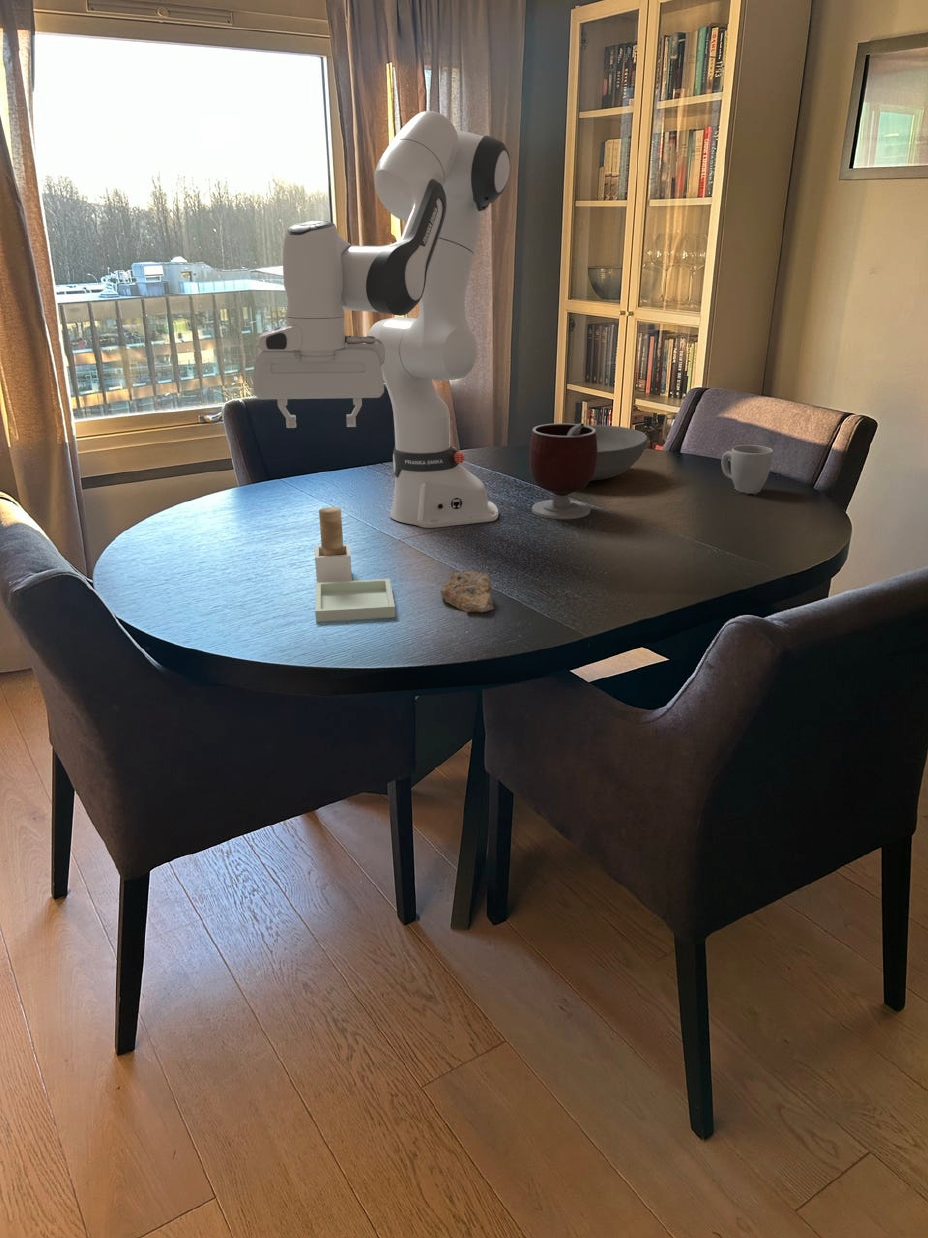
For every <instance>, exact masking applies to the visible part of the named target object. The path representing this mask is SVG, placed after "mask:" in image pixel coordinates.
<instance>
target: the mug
mask: <svg viewBox="0 0 928 1238" xmlns="http://www.w3.org/2000/svg"><path fill="white" fill-rule="evenodd" d="M773 458H774V450H773V449H772V448H771V447H768V446H764V445H757V444H741V445H740V444H739V445H735V446H733V447H732V448H731V450H727V451H725V452H724V453H723V454H722V456H721V464H720V465H721V470H722V472H723V474H724V477H726V478H728V479H730V480H731V481H732V483H733V485H734V490H735V489H736V490H738V491H740V492H746V493H756V492H760V493H761V491H762V488H763V487H764V485H765V483H766V482H767V479H768V477H769V473H770V470H771V468H772V463H773ZM729 459H730V467H729ZM729 468H730V469H729Z"/></svg>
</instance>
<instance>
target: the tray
mask: <svg viewBox="0 0 928 1238" xmlns="http://www.w3.org/2000/svg"><path fill="white" fill-rule="evenodd" d="M391 584H392V583H391V578H376V579H361V580H360V579H359V580H352V581H339V582H321V583H317V582H315V597H314V598H315V604H314V605H315V606H314V607H315V609H314V610H315V622H316V623H320V622H333V621H335V622H336V621H350V620H351V621H353V620H367V619H383V618H384V619H386V618H387V619H388V618H396V604H395V601H394V595H393V590H392V585H391Z"/></svg>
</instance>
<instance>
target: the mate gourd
mask: <svg viewBox="0 0 928 1238" xmlns="http://www.w3.org/2000/svg"><path fill="white" fill-rule="evenodd" d="M586 425H587V424H584V423H583V422H581V423H566V422H565V423H564V422H563V423H562V422H561V423H546V424H540V425H537V426H534V427H533V428H532V433H531V436H530V441H529V442H530V444H529V453H528V454H529V456H528V458H529V459H528V460H529V461H528V462H529V467H530V473H531V476H532V478H533V481H534V482H535V483H536V485H537V486H538V487H539V488H540V489H542V490H545V491H547V492H550V493H552V494H554V495H555V496H554V497H553V499H547V500H542V501H539V502H538V501H537V502H536V503H534V504H532V507H531V512H532V513H533V514H534V515H535V516H539V517H541V518H545V519H551V520H552V519H553V520H573V519H579V518H584V517H587V516H588V515H589V514H590V513H591V507H590V506H589V505H588V504H586V503H584V502H581V501H577V500H571V499H570V498H569V495H571V494H573V493H575V492H578V491H581V490H584V489H585V488H586V487H587V486H588V485H589V483H590V482H591V481H592V480H591V479H592V478H593V475H594V472H595V467H596V462H597V438H596V433H595V432H596V430H595V429H594V428H592V427H590V426H586Z"/></svg>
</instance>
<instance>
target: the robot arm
mask: <svg viewBox="0 0 928 1238" xmlns="http://www.w3.org/2000/svg"><path fill="white" fill-rule="evenodd" d="M508 150H509V149H508V148H507V146H506V144H505V143H504V142H502V141H501V140H499V139H497V138H495V137H493V136H490V135H484V136H482V135H480V134H476V133H473V132H468V131H463V130H460V129H456V127H455V125H454V124H453V123H452V121H451V120H450V119H449V118H448V117H447V116H445V115H444V114H443V113H440V112H437V111H433V110H425V111H422V112H421V111H420V112H418V113H417V114H416V115H414V116H413V117H412V118H410V119H409V120H408V121H407V123H406V124H404V126H402V127H401V128H400V130H398V132H397V133H396V134H395V136H394V137H393V139H392V140H391V141H390V143H389V145H388V146H387V147H386V149H385V151H384V152H383V153H382V155H381V156H380V158H379V161H378V163H377V164H376V168H375V171H374V176H373V177H374V178H373V182H374V187H375V192H376V195H377V197H378V199H379V200H380V202H381V204H382V205H383V207H384V208H385V209H386V210H387V211H388V212H389V213H390V214H391V215H392V216H394V218H397V219H398V220H401V221H402V222H403V221H404V222H406V223H405V226H404V228H403V231H402V234H401V237H400V239H399V240H397V241H395V242H393V243H390V244H385V245H353V244H351V243H350V242H348V241H346V240H345V239H344V238H342V237H341V236H340V235H339V232H338V229H337V226H336V225H337V224H335V223H334V222H331V221H329V220H311V221H304V222H303V221H302V222H298V223H295V224H293V225H291V226H290V227H289V228H287V230H286V231H285V235H284V240H283V248H282V276H283V286H284V287H283V288H284V289H285V293H286V297H287V305H286V312H285V319H286V320H285V322H286V324H285V325H283V326H277V327H275V328H273V329H270V330H267V331H264V332H262V333H261V334H260V335H259V336H258V339H257V344H258V348H259V349H260V351H259V353H257V355H256V357H255V359H254V362H253V371H252V372H253V373H252V374H253V375H252V388H253V389H252V391H253V395H254V396H255V397H256V398H257V399H259V400H277V407H278V409H279V410H280V412H281V413H282V415H283V416H284V417H285V425H286V429H295V428H297V421H296V420H297V417H296V416H297V415H296V414H291V413H290V412H289V410H288V408H287V406H288V400H295V399H296V400H305V399H306V400H307V399H309V400H310V399H311V400H312V399H314V400H317V399H319V400H321V399H325V400H326V399H352V404H353V406H354V408H353V410H352V412H351V413H349V414H348V413H346V416H345V417H346V420H345V421H346V428H357V424H356V421H357V419H356V416H357V415H358V413H359V412H360V410H361V408H362V406H363V400H362V399H375V398H376V399H379V398H381V397H382V396H383V394H384V393H385V386H386V389H387V392H388V395H389V399H390V403H391V406H392V412H393V425H394V427H393V428H394V443H395V444H394V445H395V446H394V447H393V453H392V466H393V473H394V477H395V478H394V479H395V481H394V491H393V497H392V498H393V500H392V503H391V504H392V505H391V508H390V513H389V517H390V518H391V519H392V520H395V521H397V522H400V523H404V524H408V525H414V526H418V527H420V528H424V529H431V528H433V529H435V528H442V527H451V526H459V525H470V524H478V523H479V524H480V523H486V522H487V523H488V522H494V521H496V520H497V519H498V518H499V509H498V507H497V505H496V504H495V503H493V502H492V501H490V500H489V499H488V493H487V489H486V487H485V485H484V483H483V482H482V481H481V479H479V478H478V477H477V476H476V475H474V473H471V472H470V471H469V470H467V468H465V467H464V466H462V465H461V464H463V463H464V461H465V460H466V459H465V458H466V457H465V455H464V454H463V452H461V451H460V450H459V449H457V448H456V447H455V446H451V436H450V435H451V429H450V428H451V426H450V425H451V424H450V420H451V419H450V417H451V416H450V409H449V407H448V405H447V403H446V402H445V401H444V400H443V399H442V398H441V397H440V395H439V393H438V391H437V390H436V388H435V385H434V382H433V381H439V382H446V381H453V380H454V381H455V380H461V379H463V378H466V377H467V376H468V375H470V374H471V372H472V371H473V369H474V368H475V366H476V364H477V360H478V356H479V355H478V354H479V351H478V343H477V339H476V337H475V335H474V333H473V332H472V331H471V329H470V327H469V324H468V321H467V317H466V315H467V314H466V294H467V289H468V285H469V281H470V276H471V270H472V268H473V264H474V260H475V256H476V251H477V248H478V244H479V237H480V231H481V223H482V211H485V210H487V209H488V208H489V206H490V204H492V203H494V202H495V201H497V199H498V198H499V197H500V196H501V195H502V194H503V192H504V190H505V189H506V186H507V183H508V181H509V179H508V178H509V175H510V167H511V164H510V159H511V158H510V154H509V151H508ZM418 304H419V306H418V307H419V309H418V310H419V311H418V316H417V318H415V317H406V316H405V315H408V314H409V313H410V312H411V311H412V310H414V309H415V308H416V306H417V305H418ZM345 311H355V312H372V313H381V314H386V315H393V316H396V317H390V318H385V319H381V320H378V321H376V322H375V323H374V324H373V325H372V326H371V327H370V329H369V331H368V333H367V334H366V336H358V335H357V336H356V335H346V318H345V317H346V316H345V315H346V314H345ZM403 316H404V317H403ZM384 384H385V386H384Z"/></svg>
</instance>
